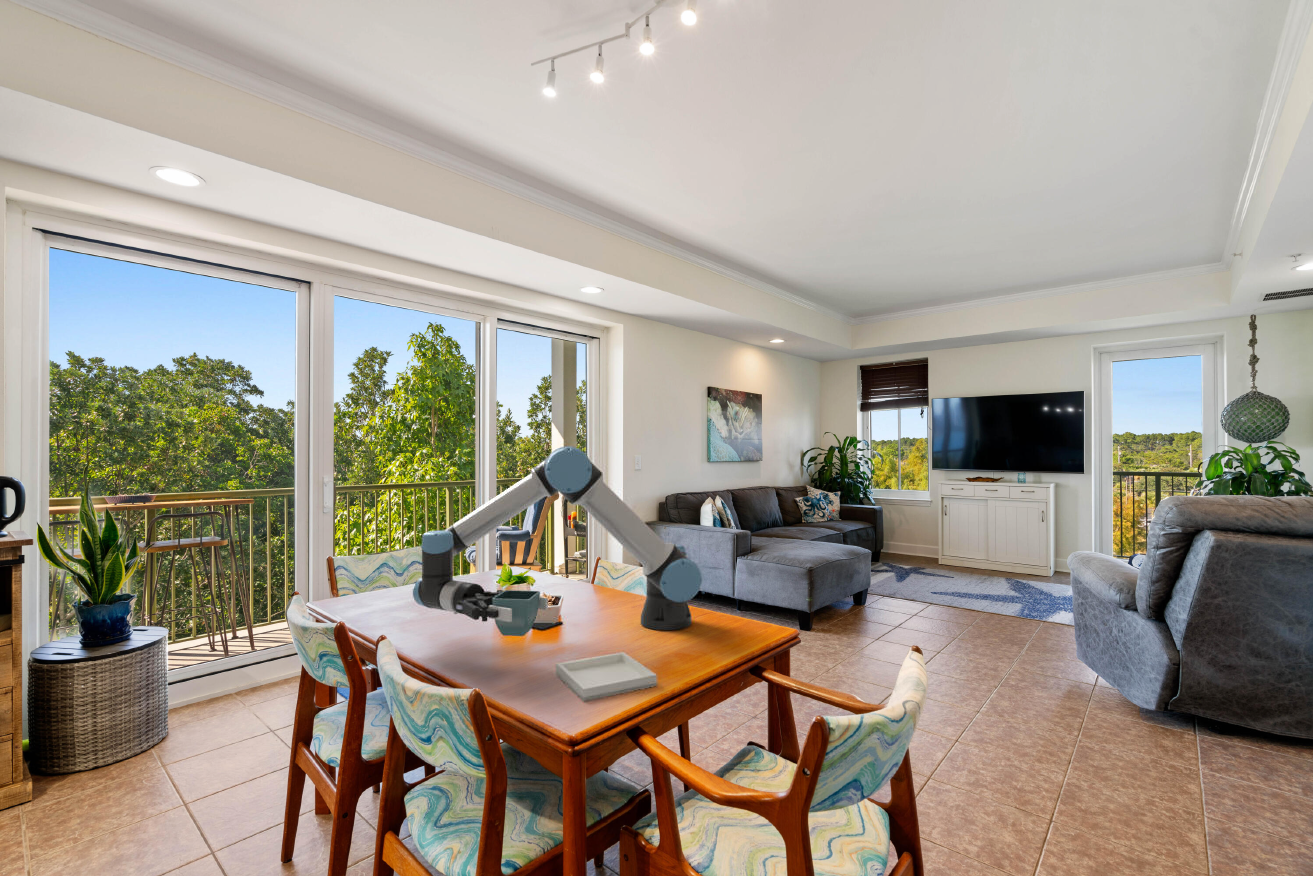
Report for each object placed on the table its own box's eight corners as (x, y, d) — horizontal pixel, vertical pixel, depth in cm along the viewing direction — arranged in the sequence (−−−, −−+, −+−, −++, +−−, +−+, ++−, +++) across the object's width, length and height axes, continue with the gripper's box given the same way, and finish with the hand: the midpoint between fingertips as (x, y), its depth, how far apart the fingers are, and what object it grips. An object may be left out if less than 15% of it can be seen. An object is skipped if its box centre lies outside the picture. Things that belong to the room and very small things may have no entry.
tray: (623, 662, 147) (623, 652, 147) (656, 686, 132) (656, 674, 132) (556, 674, 139) (556, 663, 139) (583, 701, 124) (583, 689, 124)
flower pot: (540, 628, 145) (540, 590, 145) (529, 639, 136) (529, 599, 136) (505, 627, 145) (504, 589, 146) (491, 638, 137) (491, 598, 137)
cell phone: (521, 615, 191) (521, 612, 191) (563, 624, 180) (563, 621, 181) (499, 622, 183) (499, 619, 183) (542, 632, 173) (542, 629, 173)
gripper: (498, 602, 160) (563, 614, 149) (423, 624, 140) (490, 639, 129) (498, 574, 160) (563, 583, 149) (423, 592, 140) (490, 604, 129)
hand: (529, 609), depth 139 cm, fingers closed on flower pot, 11 cm apart
